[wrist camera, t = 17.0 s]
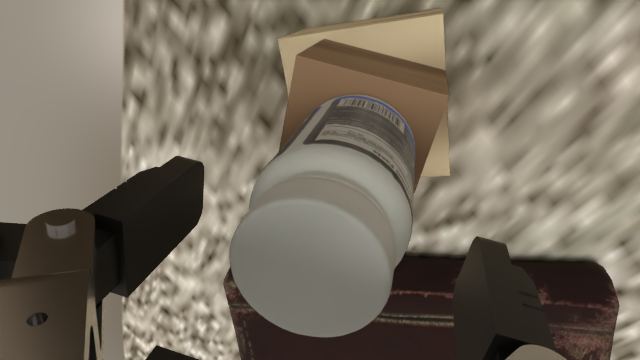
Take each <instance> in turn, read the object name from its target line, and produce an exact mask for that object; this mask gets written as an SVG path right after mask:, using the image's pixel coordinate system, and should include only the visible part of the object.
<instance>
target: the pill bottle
mask: <svg viewBox="0 0 640 360" xmlns="http://www.w3.org/2000/svg"><path fill="white" fill-rule="evenodd" d="M414 179H415V142H414V138H413V135H412V132H411V130H410V127H409V126H408V124H407V122H406V121H405V119H404V118H403V117H402V115H401V114H400V113H399V112H398V111H397V110H396V109H395V108H394V107H392V106H391V105H389V104H388V103H386V102H384V101H382V100H380V99H377V98H375V97H372V96H368V95H361V94H353V95H344V96H340V97H337V98H333V99H331V100H329V101H327V102H325V103H324V104H322V105H320V106H319V107H318V108H317V109H315V110H314V111H313V112H312V113H311V114H310V115H309V117H308V118H307V119H306V120H305V121H304V122H303V124H302V125H301V126H300V127H299V129H298V130H297V131H296V132H295V133H294V134H293V135H292V136H291V138H290V139H289V140H288V142H287V143H286V144H285V145H284V146H283V148H282V149H281V150H280V151H279V152H278V153H277V155H276V156H275V157H274V158H273V159H272V160H271V161H270V162H269V163H268V165H267V166H266V167H265V168H264V170H263V171H262V172H261V174H260V176H259V178H258V179H257V181H256V183H255V185H254V188H253V191H252V194H251V198H250V204H249V211H248V213H247V214H246V215H245V217H244V218H243V219H242V221H241V222H240V224H239V225H238V227H237V229H236V231H235V233H234V235H233V238H232V242H231V247H230V265H231V271H232V275H233V278H234V281H235V283H236V285H237V287H238V289H239V291H240V292H241V294H242V295H243V297H244V298H245V299H246V301H247V302H248V303H249V304H250V305H251V307H253V308H254V309H255V310H256V311H257V312H258V313H259V314H260V315H262V316H263V317H264V318H266V319H267V320H268V321H270V322H272V323H273V324H275V325H277V326H279V327H281V328H283V329H285V330H288V331H290V332H293V333H297V334H301V335H307V336H313V337H336V336H342V335H346V334H349V333H352V332H355V331H357V330H359V329H361V328H363V327H364V326H366V325H367V324H369V323H370V322H371V321H372V320H374V319H375V318H376V317H377V316H378V315H379V313H380V312H381V311H382V309H383V308H384V306H385V304H386V303H387V300H388V298H389V295H390V291H391V287H392V280H393V273H394V269H395V267H396V266H397V265H398V264H399V262H400V261H401V259H402V257H403V256H404V254H405V251H406V249H407V247H408V244H409V241H410V238H411V233H412V222H413V217H412V215H413V191H414Z"/></svg>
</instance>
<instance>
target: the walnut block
mask: <svg viewBox="0 0 640 360" xmlns="http://www.w3.org/2000/svg"><path fill="white" fill-rule="evenodd" d="M353 94H361V95H368V96H372V97H375V98H377V99H380V100H382V101H384V102H386V103H388V104H389V105H391V106H392V107H394V108H395V109H396V110H397V111H398V112H399V113H400V114H401V115H402V117H403V118H404V119H405V121H406V122H407V124H408V126H409V127H410V130H411V132H412V135H413V138H414V142H415V179H414V191H413V195H414V193H415V190H416V187H417V184H418V182H419V179H420V176H421V173H422V171H423V168H424V165H425V162H426V160H427V157H428V154H429V151H430V149H431V146H432V143H433V141H434V138H435V135H436V132H437V130H438V127H439V124H440V121H441V119H442V116H443V113H444V110H445V108H446V105H447V102H448V99H449V97H450V95H449V89H448V84H447V78H446V73H445V70H443V69H439V68H435V67H431V66H428V65H424V64H420V63H416V62H412V61H408V60H404V59H401V58H397V57H393V56H389V55H385V54H381V53H378V52H374V51H370V50H366V49H362V48H358V47H354V46H351V45H347V44H343V43H339V42H335V41H331V40H328V39H323V40H321V41H319V42H318V43H316V44H314V45H313V46H311V47H309V48H307V49H306V50H304V51H302V52H300V53H299V54H297V55H296V58H295V64H294V70H293V75H292V81H291V87H290V92H289V98H288V104H287V109H286V115H285V120H284V126H283V132H282V137H281V143H280V149H279V151H280V150H281V149H282V148H283V146H284V145H285V144H286V143H287V142H288V140H289V139H290V138H291V136H292V135H293V134H294V133H295V132H296V131H297V130H298V129H299V127H300V126H301V125H302V124H303V122H304V121H305V120H306V119H307V118H308V117H309V115H310V114H311V113H312V112H313V111H314V110H315V109H317V108H318V107H319V106H320V105H322V104H324V103H325V102H327V101H329V100H331V99H333V98H337V97H340V96H344V95H353Z"/></svg>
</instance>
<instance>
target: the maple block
mask: <svg viewBox="0 0 640 360" xmlns="http://www.w3.org/2000/svg"><path fill="white" fill-rule="evenodd" d="M323 39H328V40H331V41H335V42H339V43H343V44H347V45H351V46H354V47H358V48H362V49H366V50H370V51H374V52H378V53H381V54H385V55H389V56H393V57H397V58H401V59H404V60H408V61H412V62H416V63H420V64H424V65H428V66H431V67H435V68H439V69H443V70H445V73H446V69H445V45H444V22H443V12H442V9H441V8H437V9H431V10H424V11H418V12H411V13H405V14H399V15H392V16H386V17H380V18H373V19H367V20H360V21H354V22H348V23H341V24H335V25H329V26H322V27H316V28H309V29H303V30H301V31H298V32H295V33H293V34H290V35H287V36H285V37H282V38H280V39H278V42H279V48H280V53H281V58H282V63H283V69H284V74H285V79H286V84H287V90H288V95H289V92H290V87H291V81H292V75H293V70H294V64H295V58H296V55H297V54H299V53H300V52H302V51H304V50H306V49H307V48H309V47H311V46H313V45H314V44H316V43H318V42H319V41H321V40H323ZM433 176H450V163H449V139H448V116H447V105H446V108H445V110H444V113H443V116H442V119H441V121H440V124H439V127H438V130H437V132H436V135H435V138H434V141H433V143H432V146H431V149H430V151H429V154H428V157H427V160H426V162H425V165H424V168H423V171H422V173H421V176H420V177H433Z"/></svg>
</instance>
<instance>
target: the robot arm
mask: <svg viewBox="0 0 640 360" xmlns="http://www.w3.org/2000/svg"><path fill="white" fill-rule="evenodd" d="M203 189H204V165H203V163H202V162H199V161H196V160H192V159H188V158H184V157H181V156H175V157H174V158H172V159H171V160H169V161H168V162H167V163H165V164H164V165H162V166H161V167H154V168H151V169H148V170H145V171H141V172H139V173H137V174H136V175H134V176H133V177H131V178H130V179H128V180H127V182H124V183H122V184H121V185H119V186H118V187H117V189H113V190H112V191H110V192H109V193H107V194H106V195H104V196H103V197H101V198H100V199H98V200H97V201H95V202H94V203H92V204H91V205H89V206H88V207H86V208H85V209H83V210H79V209H71V208H70V209H69V208H67V209H56V210H52V211H48V212H45V213H42V214H40V215H38V216H36V217H34V218H33V219H31V220H30V221H29V222H28V223H27V224H17V223H2V222H0V360H103V343H104V303H103V299H104V298H105V297H106V295H108V294H109V292H112V293H115V294H118V295H121V296H124V297H127V298H128V297H129V296H130V294H131V293H132V292H133V291H134V290H135V289H136V288H137V287H138V286H139V285H140V284H141V283H142V282H143V281H144V280H145V279H146V278H147V277H148V276H149V275H150V273H151V272H152V271H153V270H154V269H155V268H156V267H157V266H158V265H159V264H160V263H161V262H162V261H163V260H164V259H165V258H166V257H167V256H168V255H169V254H170V253H171V251H172V250H173V249H174V248H175V247H176V246H177V245H178V244H179V243H180V242H181V241H182V240H183V239H184V238H185V237H186V236H187V235H188V234H189V233H190V232H191V231H192V229H193V228H194V227H195V226H196V225H197V223H198V221H199V219H200V217H201V214H202V209H203ZM538 298H539V295H538V292H537V289H536V286H535V283H534V281H533V280H532V279H531V278H530V277H529V275H528V274H527V273H526V272H525V271H524V269H523V268H522V267H519V266H515V265H512V264H511V260H510V257H509V253H508V249H507V246H506V244H504V243H500V242H497V241H493V240H489V239H485V238H482V237H478V236H477V237H476V238H475V239H474V240H473V242H472V244H471V247H470V249H469V252H468V254H467V256H466V259H465V261H464V264H463V266H462V269H461V271H460V273H459V276H458V278H457V281H456V284H455V288H454V293H453V316H454V333H455V349H456V360H567V359H566V358H564V357H563V356H561V355H560V354H558V353H557V350H556V347H555V344H554V341H553V338H552V335H551V332H550V329H549V326H548V323H547V320H546V317H545V313H544V312H542V311H543V307H542V304H541V301H540V300H539V299H538ZM146 360H198V359H195V358H192V357H189V356H187V355H184V354H181V353H178V352H175V351H172V350H169V349H166V348H163V347H160V346H157V345H156V347H155V348H154V349H153V350H152V352H151V353H150V354H149V356H148V357H147V358H146Z"/></svg>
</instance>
